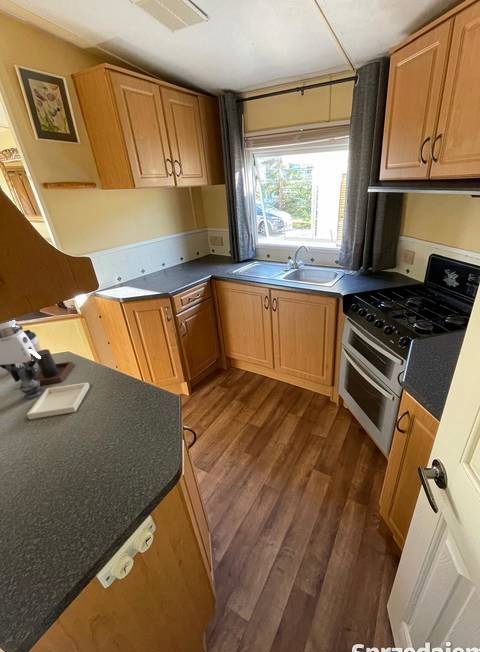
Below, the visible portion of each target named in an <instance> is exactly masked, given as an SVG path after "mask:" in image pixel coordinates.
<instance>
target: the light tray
mask: <svg viewBox="0 0 480 652" xmlns="http://www.w3.org/2000/svg"><path fill="white" fill-rule="evenodd" d="M90 387H91V386H90V384H89V382H81V383H75V384H74V383H73V384H67V385H61V386H55V387H47V388H46V389H45V390H44V392H42V393H41V395H40V397H39V398H38V399H37V400H36V402H35V403H34V404H33V406H32V407H31V408H30V409H29V410H28V412H27V413H26V417H27V418H28V420H35V419H40V418H45V417H52V416H57V415H58V416H59V415H64V414H70V413H76V412H77V410H78V408H79V406H80V405H81V403H82V401H83V400H84V398H85V396H86V394H87V393H88V391H89V389H90Z"/></svg>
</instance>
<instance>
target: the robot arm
mask: <svg viewBox="0 0 480 652" xmlns="http://www.w3.org/2000/svg"><path fill="white" fill-rule="evenodd" d="M23 331H24V330H23V325H18V323H17V322H16V319H15V320H12V321H9V322H6V323H3V324H0V368H1V369H4V370H5V371H6V372H7V373H10V375H11V377H12V378H13V380H14V382H15V383H18V382H20V380H19V375H18V373H17V369H18V368H19V366H16V364H22V363H23V364H22V365H23V366H25V368H26V369H27V370H26V374H27V376H28V378H29V380H33V378H34V377H35V376H36V371H37V370H36V368H35V369H34V367H33V366H34V364H35V363H36V362H38V361H39V360H40V359H41V357H40V356H39V355H38V354H37V353H36V350H35V348H34V346H33V344H32V343H31V341H30V339H29V338H28V337H27V335H26V334H25V333H24V332H23ZM31 357H32V358H33V360H31Z"/></svg>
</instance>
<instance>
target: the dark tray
mask: <svg viewBox="0 0 480 652" xmlns="http://www.w3.org/2000/svg"><path fill="white" fill-rule="evenodd" d="M55 364H56V367H57V369H58V371H59V373H58V374H57V375H56V376H54V377H51V378H44V377H43V375H42V372H41V370H40V368H39V367H38V368H37V369H36V370H35V371H36V376H35V377H34V378H33V380H37V381H40V386H44V385H49V384H56V383H62V382H63V381H64V379H65V378H66V377H67V375H68V374H69V373H70V372H71V370H72V368H74V363H73V361H65V362H59V363H55Z"/></svg>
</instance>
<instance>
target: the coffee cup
mask: <svg viewBox="0 0 480 652" xmlns="http://www.w3.org/2000/svg"><path fill="white" fill-rule="evenodd" d="M22 331H23V332H24V333H25V334H26V335H27V337H28V338H29V339H30V341H31V343H32V344H33V346H34V348H35V350H36V352H38V351H40V350H42V349H41V346H40V342H39V340H38V338H37V334H36V333H35V332H33V331H31V330H30V329H27V330H22ZM31 360H33V358H32V357H31ZM21 365H23V363H21ZM33 367H34V369H35V370H36V369H38V368H39V366H38V364H37V362H36V363H35V364H34V366H33Z"/></svg>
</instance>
